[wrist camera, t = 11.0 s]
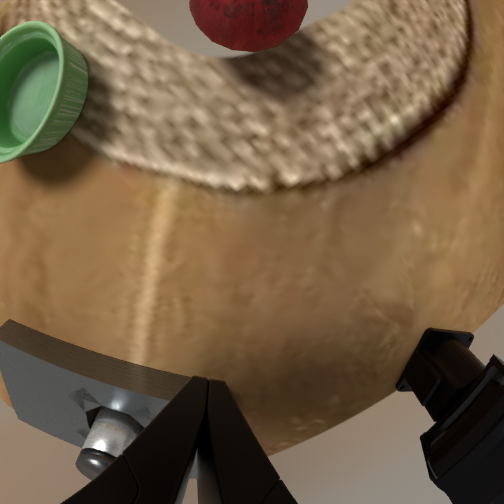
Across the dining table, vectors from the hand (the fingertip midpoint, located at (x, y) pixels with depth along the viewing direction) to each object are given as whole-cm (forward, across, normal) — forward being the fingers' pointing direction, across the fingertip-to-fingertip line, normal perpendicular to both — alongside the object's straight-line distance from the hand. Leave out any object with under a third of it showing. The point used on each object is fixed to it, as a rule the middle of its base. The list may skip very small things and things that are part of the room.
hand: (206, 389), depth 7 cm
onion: (+12, +2, -14) cm, 19 cm away
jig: (+12, +8, +16) cm, 22 cm away
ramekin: (+12, +15, -8) cm, 21 cm away
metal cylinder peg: (+12, +6, +16) cm, 21 cm away
